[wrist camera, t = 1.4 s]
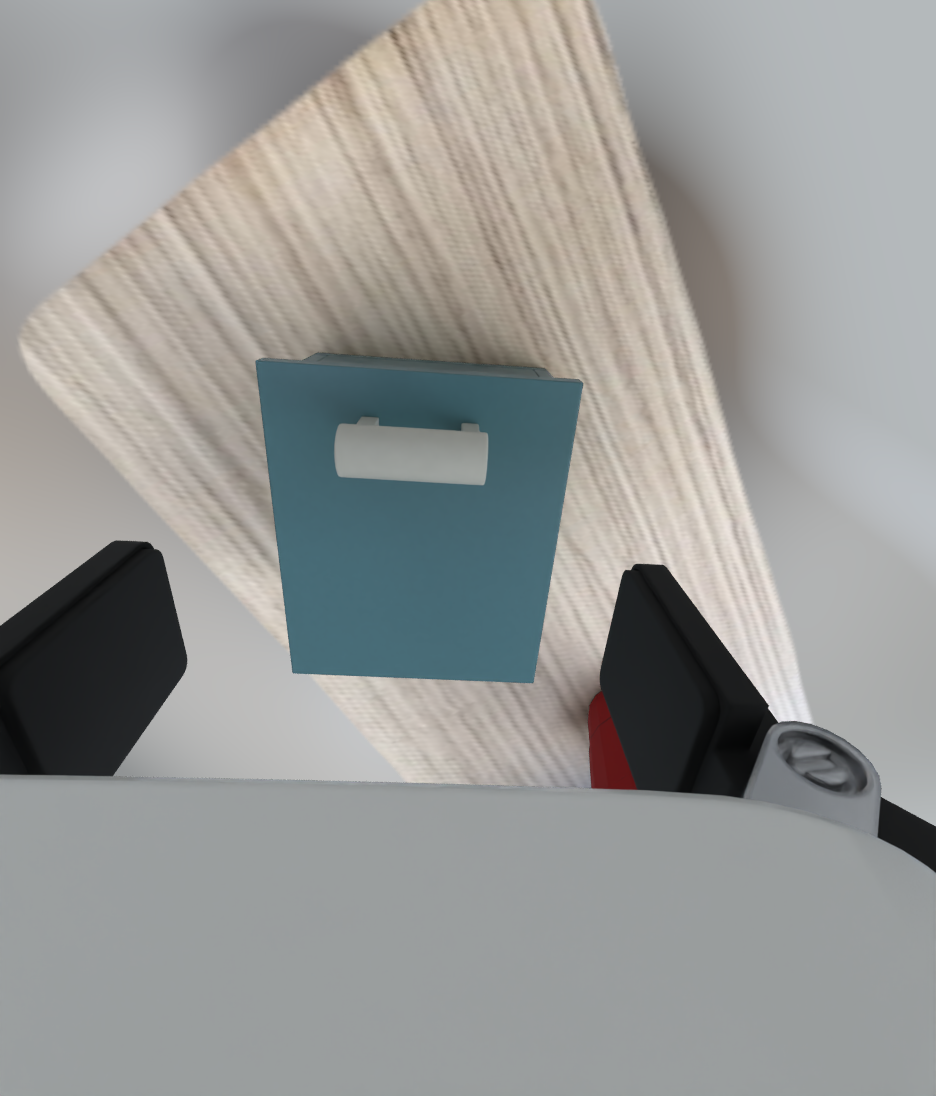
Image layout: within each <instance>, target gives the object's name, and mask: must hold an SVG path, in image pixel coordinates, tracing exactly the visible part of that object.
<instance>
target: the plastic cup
mask: <svg viewBox="0 0 936 1096" xmlns="http://www.w3.org/2000/svg"><path fill="white" fill-rule="evenodd" d="M588 731H589V742H590V746H589V759H590V773H591V788H593V789H620V790H637V788H636V785H635V782H634V779H633V776H632V774H631V771H630V768H629V765H628V762H627V760H626V757H625V754H624V751H623V748H622V746H621V743H620V740H619V737H618V734H617V732H616V729H615V726H614V723H613V720H612V718H611V715H610V712H609V709H608V706H607V704H606V701H605V698H604V695H603V692H602V691H601V692H600V693H598V694H597V695H596V696H595V697H594V699H593V701H592V702H591V704H590V705H589V714H588Z"/></svg>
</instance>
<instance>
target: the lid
mask: <svg viewBox="0 0 936 1096" xmlns="http://www.w3.org/2000/svg"><path fill="white" fill-rule="evenodd" d="M256 370H257V378H258V387H259V395H260V404H261V412H262V420H263V429H264V437H265V446H266V454H267V462H268V471H269V479H270V488H271V496H272V504H273V513H274V521H275V530H276V538H277V546H278V555H279V563H280V572H281V580H282V588H283V597H284V605H285V614H286V622H287V630H288V639H289V647H290V656H291V663H292V672H293V673H297V674H322V675H346V676H370V677H394V678H418V679H442V680H467V681H491V682H515V683H533V682H534V677H535V671H536V665H537V659H538V653H539V647H540V641H541V635H542V629H543V623H544V617H545V611H546V605H547V599H548V593H549V587H550V580H551V574H552V568H553V562H554V556H555V550H556V544H557V538H558V532H559V526H560V520H561V514H562V508H563V502H564V496H565V490H566V484H567V478H568V472H569V466H570V460H571V454H572V448H573V442H574V436H575V430H576V424H577V418H578V412H579V406H580V400H581V394H582V388H583V383H582V382H581V381H580V380H579V379H567V378H552V377H537V376H523V375H508V374H493V373H479V372H464V371H449V370H435V369H420V368H405V367H391V366H376V365H361V364H346V363H332V362H317V361H302V360H288V359H273V358H261V359H259V360H256Z"/></svg>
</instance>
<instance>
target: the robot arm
mask: <svg viewBox="0 0 936 1096" xmlns="http://www.w3.org/2000/svg"><path fill="white" fill-rule="evenodd" d="M186 666H187V654H186V650H185V646H184V642H183V638H182V634H181V629H180V626H179V622H178V617H177V613H176V609H175V605H174V600H173V596H172V592H171V588H170V584H169V580H168V576H167V572H166V567H165V563H164V559H163V556H162V554H161V552H160V551H159V550H156V549H154V548H153V546H152V545H151V544H150V543H148V542H137V541H114V542H111V543H110V544H109V545H107V546H106V547H105V548H103V549H102V550H101V551H99V552H98V553H97V554H95V555H94V556H93V557H91V558H90V559H89V560H87V561H86V562H85V563H83V564H82V565H81V566H79V567H78V568H77V569H75V570H74V571H73V572H72V573H70V574H69V575H67V576H66V577H65V578H63V579H62V580H61V581H59V582H58V583H57V584H56V585H54V586H53V587H51V588H50V589H49V590H47V591H46V592H45V593H43V594H42V595H41V596H39V597H38V598H37V599H35V600H34V601H33V602H31V603H30V604H29V605H27V606H26V607H25V608H23V609H22V610H21V611H20V612H18V613H17V614H15V615H14V616H13V617H11V618H10V619H9V620H8V621H6V622H5V623H3V624H2V625H1V626H0V1096H936V826H934V825H932V824H930V823H928V822H926V821H924V820H923V819H921V818H919V817H917V816H915V815H913V814H911V813H910V812H908V811H906V810H904V809H902V808H900V807H898V806H897V805H895V804H893V803H891V802H889V801H887V800H885V799H884V798H882V797H881V783H880V778H879V775H878V773H877V772H876V770H875V768H874V766H873V765H872V763H871V762H870V761H869V760H868V759H867V758H866V757H865V756H864V755H863V754H862V753H861V752H860V751H859V750H858V749H857V748H855V747H854V746H853V745H851V744H850V743H849V742H847V741H846V740H845V739H843V738H841V737H839V736H837V735H835V734H834V733H832V732H830V731H828V730H825V729H823V728H820V727H818V726H815V725H812V724H808V723H803V722H797V721H786V722H780V723H778V721H777V720H776V719H775V717H774V716H773V715H772V713H771V712H770V711H769V709H768V706H769V705H768V704H767V703H766V701H765V700H764V699H763V697H762V696H761V695H760V693H759V692H758V690H757V689H756V688H755V686H754V685H753V684H752V682H751V681H750V680H749V678H748V677H747V676H746V674H745V673H744V672H743V670H742V669H741V668H740V666H739V665H738V663H737V662H736V661H735V659H734V658H733V657H732V655H731V654H730V653H729V651H728V650H727V649H726V647H725V646H724V645H723V643H722V642H721V640H720V639H719V638H718V636H717V635H716V634H715V632H714V631H713V630H712V628H711V627H710V626H709V624H708V623H707V622H706V620H705V619H704V618H703V616H702V615H701V613H700V612H699V611H698V609H697V608H696V607H695V605H694V604H693V603H692V601H691V600H690V599H689V597H688V596H687V595H686V593H685V592H684V590H683V589H682V588H681V586H680V585H679V584H678V582H677V581H676V580H675V578H674V577H673V576H672V574H671V573H670V572H669V570H668V569H667V567H665V566H664V565H653V564H635V565H634V566H633V567H632V569H631V570H626V571H624V573H623V575H622V579H621V583H620V587H619V592H618V596H617V600H616V605H615V609H614V613H613V618H612V622H611V626H610V631H609V635H608V639H607V644H606V648H605V652H604V657H603V661H602V665H601V669H600V686H601V690H602V692H603V695H604V698H605V701H606V704H607V706H608V709H609V712H610V715H611V718H612V720H613V723H614V726H615V729H616V732H617V734H618V737H619V740H620V743H621V746H622V748H623V751H624V754H625V757H626V760H627V762H628V765H629V768H630V771H631V774H632V776H633V779H634V782H635V785H636V788H637V790H620V789H593V788H569V787H535V786H502V785H468V784H435V783H396V782H357V781H355V782H354V781H317V780H316V781H315V780H273V779H230V778H229V779H228V778H226V779H225V778H176V777H121V776H113V775H114V773H115V772H116V771H117V769H118V768H119V766H120V765H121V763H122V762H123V761H124V759H125V758H126V756H127V755H128V753H129V752H130V751H131V749H132V748H133V746H134V745H135V743H136V742H137V740H138V739H139V737H140V736H141V735H142V733H143V732H144V731H145V729H146V727H147V726H148V725H149V723H150V722H151V720H152V719H153V718H154V716H155V715H156V713H157V712H158V710H159V709H160V708H161V706H162V705H163V703H164V702H165V700H166V699H167V698H168V696H169V695H170V693H171V692H172V690H173V689H174V688H175V686H176V685H177V683H178V682H179V680H180V679H181V677H182V676H183V674H184V672H185V670H186Z"/></svg>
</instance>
